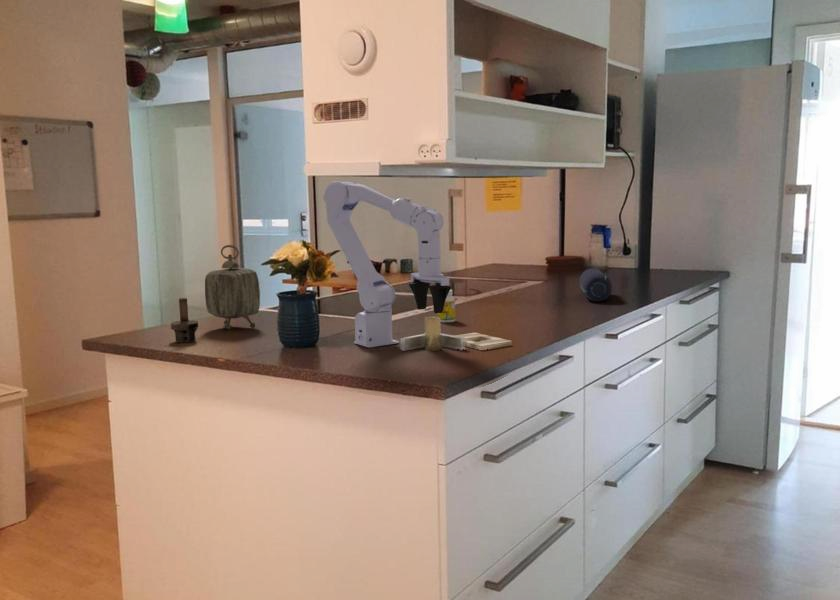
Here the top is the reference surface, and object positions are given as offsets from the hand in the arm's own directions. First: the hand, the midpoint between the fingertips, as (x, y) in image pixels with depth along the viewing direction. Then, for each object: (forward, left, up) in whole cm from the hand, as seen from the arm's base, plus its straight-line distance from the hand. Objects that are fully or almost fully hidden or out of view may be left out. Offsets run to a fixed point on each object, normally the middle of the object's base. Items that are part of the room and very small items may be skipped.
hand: (430, 311), depth 199 cm
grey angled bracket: (0, 0, -9) cm, 9 cm away
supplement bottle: (+26, +29, -10) cm, 40 cm away
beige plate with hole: (+12, -4, -9) cm, 16 cm away
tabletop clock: (-30, +61, -10) cm, 68 cm away
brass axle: (-1, -3, -9) cm, 10 cm away
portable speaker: (+96, +33, -10) cm, 102 cm away
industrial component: (-48, +51, -10) cm, 70 cm away
